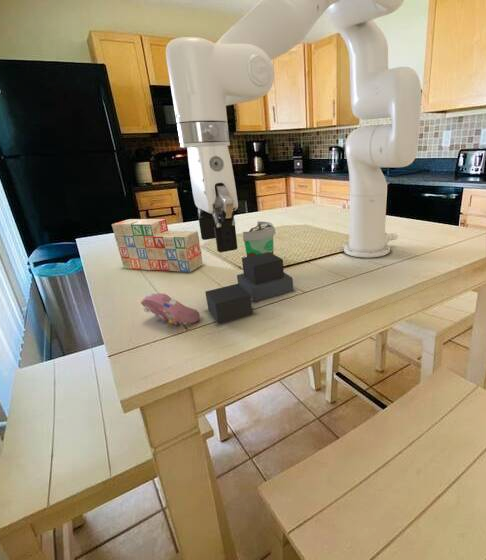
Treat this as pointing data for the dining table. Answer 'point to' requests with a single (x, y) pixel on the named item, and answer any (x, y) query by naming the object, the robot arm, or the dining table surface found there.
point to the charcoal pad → (263, 267)
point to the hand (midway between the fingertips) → (218, 244)
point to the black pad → (229, 303)
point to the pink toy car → (169, 309)
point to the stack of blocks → (156, 246)
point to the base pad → (266, 287)
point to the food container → (259, 239)
